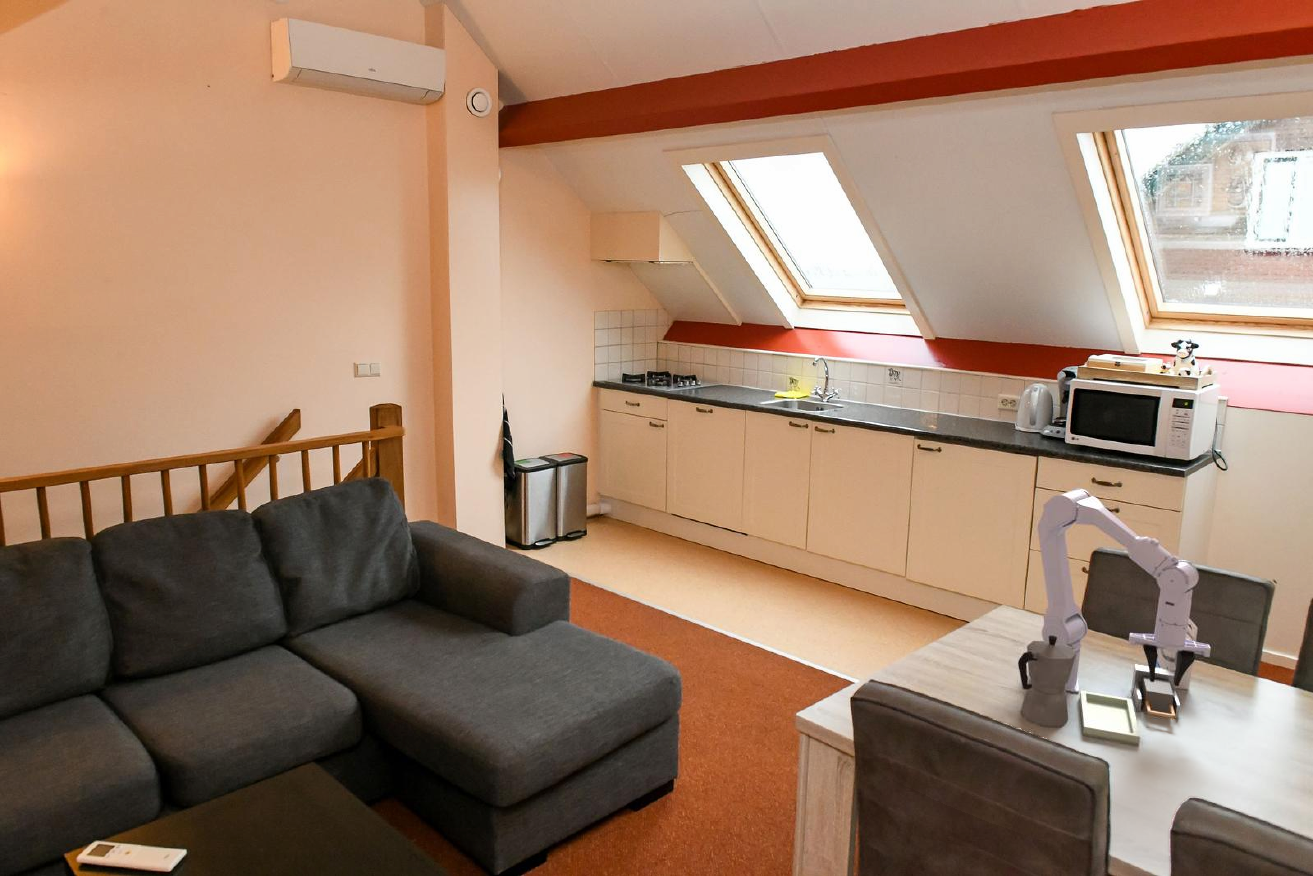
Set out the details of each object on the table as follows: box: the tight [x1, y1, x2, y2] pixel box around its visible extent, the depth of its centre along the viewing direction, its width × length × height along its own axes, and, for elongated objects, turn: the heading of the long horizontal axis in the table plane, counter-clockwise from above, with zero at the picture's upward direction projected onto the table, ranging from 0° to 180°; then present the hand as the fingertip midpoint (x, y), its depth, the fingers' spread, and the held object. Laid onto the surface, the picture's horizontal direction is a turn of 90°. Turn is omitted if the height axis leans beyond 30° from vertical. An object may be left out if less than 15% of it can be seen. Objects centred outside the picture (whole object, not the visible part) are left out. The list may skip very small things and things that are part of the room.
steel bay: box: [1131, 663, 1181, 720], centre depth 200 cm, size 8×11×6 cm
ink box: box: [1156, 618, 1199, 690], centre depth 211 cm, size 9×5×15 cm, turn 168°
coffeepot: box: [1017, 636, 1076, 728], centre depth 192 cm, size 15×9×18 cm, turn 116°
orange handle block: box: [1141, 677, 1176, 719], centre depth 197 cm, size 5×12×5 cm, turn 158°
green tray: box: [1078, 689, 1141, 747], centre depth 193 cm, size 10×17×2 cm, turn 158°
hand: (1163, 682), depth 192 cm, fingers open, 4 cm apart
